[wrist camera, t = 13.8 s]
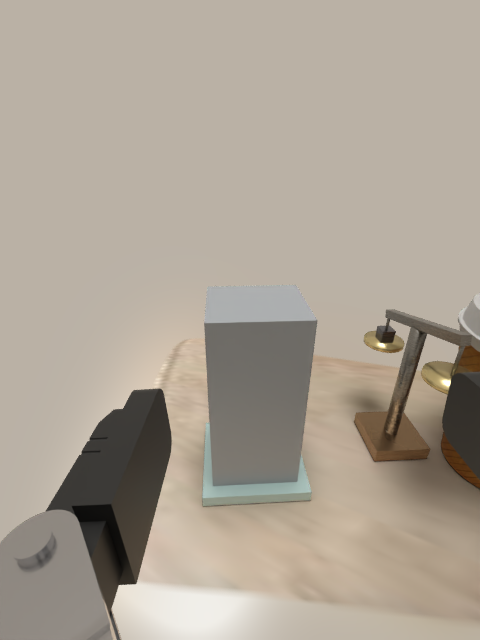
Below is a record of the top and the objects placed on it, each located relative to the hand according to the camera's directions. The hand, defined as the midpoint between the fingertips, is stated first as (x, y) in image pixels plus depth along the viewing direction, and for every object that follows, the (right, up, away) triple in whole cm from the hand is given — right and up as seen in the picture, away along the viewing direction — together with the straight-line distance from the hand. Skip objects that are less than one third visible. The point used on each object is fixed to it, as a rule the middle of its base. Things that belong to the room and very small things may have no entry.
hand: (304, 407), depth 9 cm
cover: (-1, -7, +14) cm, 16 cm away
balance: (+10, -7, +17) cm, 21 cm away
